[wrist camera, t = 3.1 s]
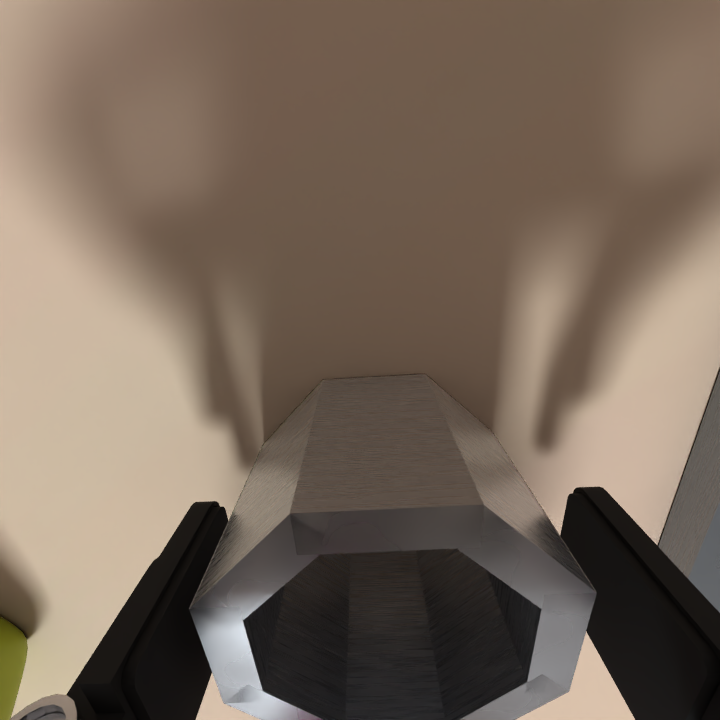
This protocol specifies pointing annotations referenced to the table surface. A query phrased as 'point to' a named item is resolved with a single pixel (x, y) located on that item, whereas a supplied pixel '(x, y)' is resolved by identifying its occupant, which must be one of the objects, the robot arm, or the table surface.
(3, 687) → the dumbbell
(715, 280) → the table surface
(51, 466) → the table surface
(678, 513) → the shaft stand
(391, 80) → the table surface
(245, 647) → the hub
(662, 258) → the table surface
